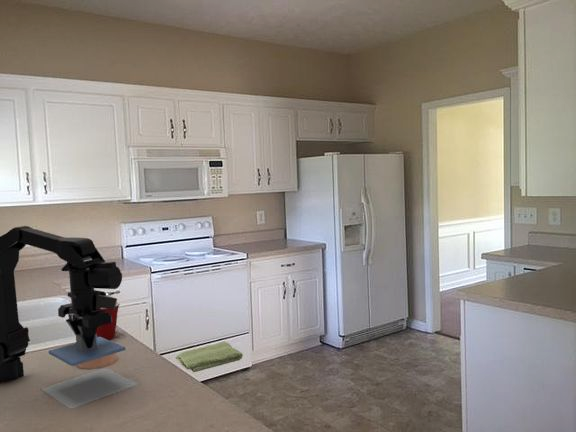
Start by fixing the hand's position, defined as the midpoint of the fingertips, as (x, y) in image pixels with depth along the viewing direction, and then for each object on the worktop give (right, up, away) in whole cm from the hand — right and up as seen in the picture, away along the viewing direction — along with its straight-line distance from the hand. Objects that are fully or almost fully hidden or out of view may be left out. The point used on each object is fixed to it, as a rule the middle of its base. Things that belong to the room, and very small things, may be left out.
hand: (86, 346), depth 133 cm
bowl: (-4, -10, +19) cm, 22 cm away
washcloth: (+29, -10, +20) cm, 36 cm away
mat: (0, -12, +1) cm, 12 cm away
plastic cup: (-11, -9, +45) cm, 47 cm away
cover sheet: (0, -1, 0) cm, 1 cm away
